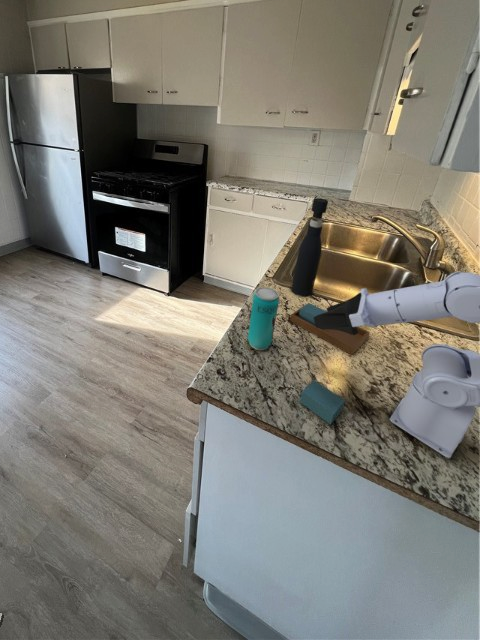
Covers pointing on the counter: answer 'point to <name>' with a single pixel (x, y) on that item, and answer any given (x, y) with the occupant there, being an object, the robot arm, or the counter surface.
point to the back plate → (334, 334)
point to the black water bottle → (309, 252)
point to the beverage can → (263, 317)
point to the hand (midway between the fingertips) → (322, 317)
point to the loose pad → (322, 401)
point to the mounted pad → (310, 313)
